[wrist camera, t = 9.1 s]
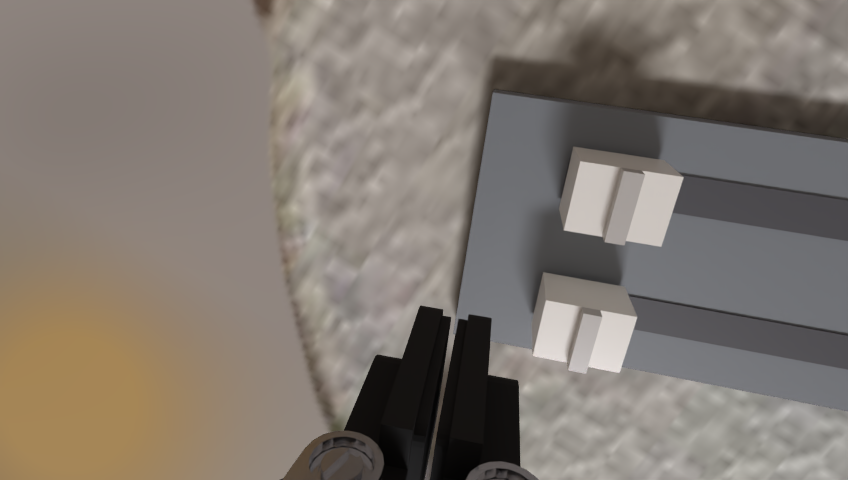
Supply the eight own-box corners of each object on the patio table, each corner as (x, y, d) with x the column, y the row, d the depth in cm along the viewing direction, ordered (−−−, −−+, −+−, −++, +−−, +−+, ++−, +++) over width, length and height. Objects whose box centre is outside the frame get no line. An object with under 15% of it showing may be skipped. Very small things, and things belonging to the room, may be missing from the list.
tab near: (664, 160, 23) (688, 180, 20) (645, 222, 24) (664, 252, 21) (573, 146, 24) (582, 164, 20) (558, 208, 25) (564, 235, 21)
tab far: (624, 286, 26) (640, 324, 22) (609, 338, 27) (621, 381, 23) (543, 272, 26) (546, 306, 23) (531, 323, 27) (532, 363, 24)
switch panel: (1048, 167, 22) (1086, 176, 21) (905, 407, 27) (927, 428, 26) (494, 89, 25) (492, 92, 24) (456, 320, 30) (452, 334, 29)
